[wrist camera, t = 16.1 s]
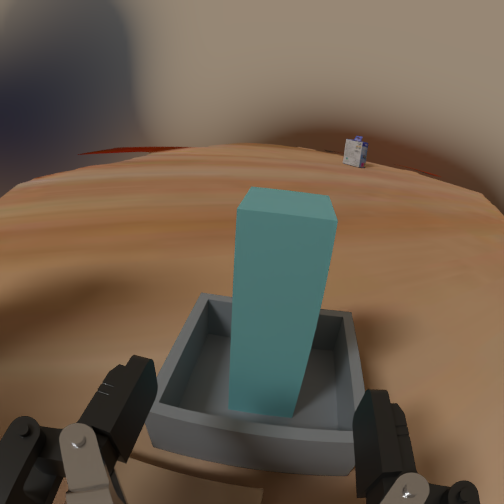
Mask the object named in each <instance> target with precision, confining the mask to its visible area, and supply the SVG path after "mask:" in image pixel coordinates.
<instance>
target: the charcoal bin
mask: <svg viewBox="0 0 504 504" xmlns="http://www.w3.org/2000/svg"><path fill="white" fill-rule="evenodd" d="M232 299H233V297H227V296H220V295H214V294H207V293H201V294H200V296H199V298H198V300H197V302H196V304H195V306H194V307H193V309H192V311H191V313H190V315H189V317H188V319H187V321H186V322H185V324H184V326H183V328H182V330H181V332H180V334H179V336H178V337H177V339H176V341H175V343H174V345H173V347H172V349H171V351H170V353H169V355H168V357H167V358H166V360H165V362H164V364H163V366H162V368H161V370H160V372H159V374H158V376H157V383H158V391H157V396H156V399H155V401H154V403H153V405H152V408H151V410H150V412H149V414H148V416H147V419H146V421H145V424H146V427H147V430H148V433H149V436H150V439H151V442H152V445H153V447H156V448H159V449H162V450H166V451H170V452H173V453H177V454H181V455H185V456H189V457H193V458H197V459H202V460H206V461H211V462H216V463H221V464H226V465H232V466H237V467H243V468H250V469H257V470H264V471H273V472H282V473H293V474H306V475H328V476H347V475H348V474H349V473H350V471H351V470H352V469H353V467H354V466H355V455H354V441H353V429H352V422H353V416H354V413H355V411H356V409H357V407H358V405H359V403H360V401H361V399H362V398H363V396H364V394H365V388H364V382H363V375H362V369H361V363H360V357H359V351H358V345H357V339H356V334H355V328H354V323H353V318H352V313H351V312H344V311H334V310H325V309H320V313H319V317H318V321H317V326H316V330H315V334H314V338H313V342H312V346H311V350H310V354H309V358H308V362H307V366H306V370H305V374H304V377H303V381H302V385H301V388H300V392H299V395H298V399H297V402H296V406H295V409H294V413H293V416H292V418H287V417H278V416H270V415H262V414H255V413H248V412H242V411H236V410H230V409H228V401H229V372H230V346H231V321H232Z"/></svg>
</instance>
